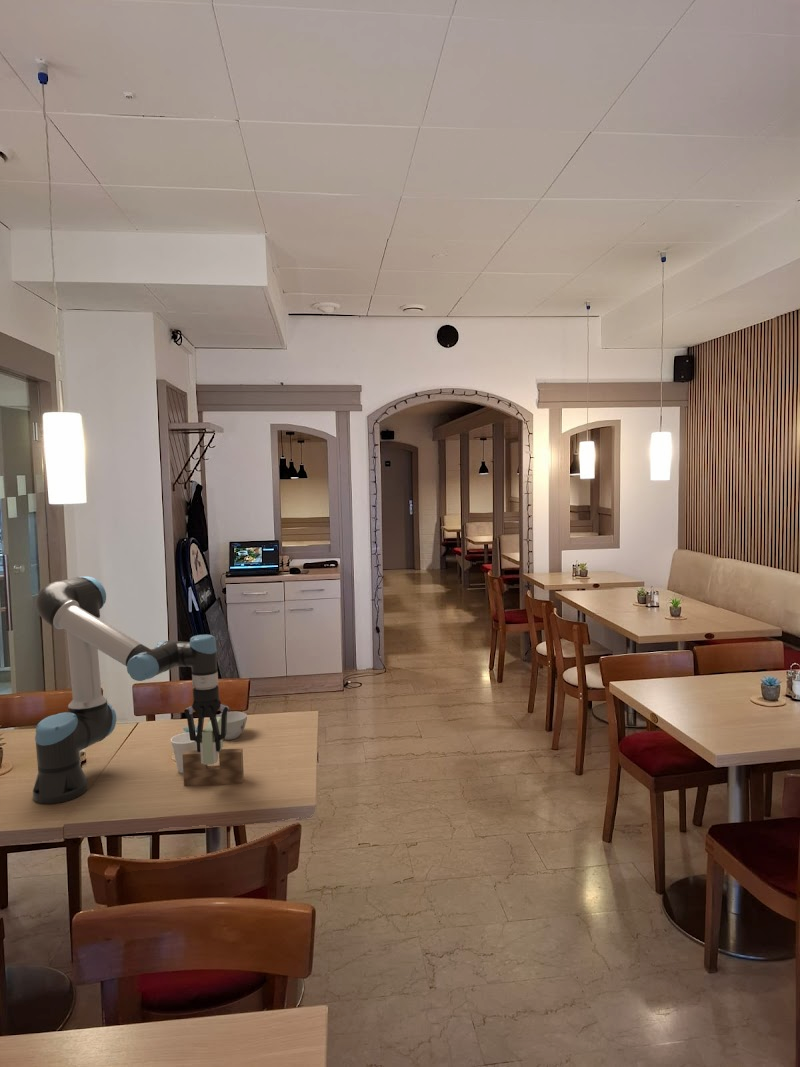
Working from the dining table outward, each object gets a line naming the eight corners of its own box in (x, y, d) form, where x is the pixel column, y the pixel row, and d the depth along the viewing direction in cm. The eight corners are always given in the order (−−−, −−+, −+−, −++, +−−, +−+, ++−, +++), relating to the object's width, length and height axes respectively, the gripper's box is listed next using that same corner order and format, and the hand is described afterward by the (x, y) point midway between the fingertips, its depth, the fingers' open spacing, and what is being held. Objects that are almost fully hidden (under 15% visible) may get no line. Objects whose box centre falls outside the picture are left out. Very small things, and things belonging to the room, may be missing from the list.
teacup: (253, 732, 266) (252, 711, 265) (238, 744, 254) (237, 722, 253) (217, 729, 269) (216, 709, 269) (200, 741, 257) (199, 720, 256)
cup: (194, 777, 226) (192, 744, 225) (166, 775, 228) (164, 742, 227) (208, 765, 236) (207, 732, 235) (181, 763, 238) (180, 731, 237)
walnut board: (184, 785, 220) (182, 754, 219) (186, 781, 223) (184, 750, 222) (242, 783, 221) (240, 752, 220) (243, 779, 224) (242, 748, 223)
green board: (213, 764, 214) (211, 732, 214) (203, 764, 214) (201, 732, 213) (222, 746, 228) (221, 716, 228) (213, 747, 228) (211, 717, 227)
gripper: (175, 691, 210) (179, 768, 212) (230, 688, 211) (234, 765, 212) (181, 684, 217) (186, 758, 219) (234, 681, 218) (238, 755, 220)
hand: (209, 761), depth 216 cm, fingers closed on green board, 3 cm apart
